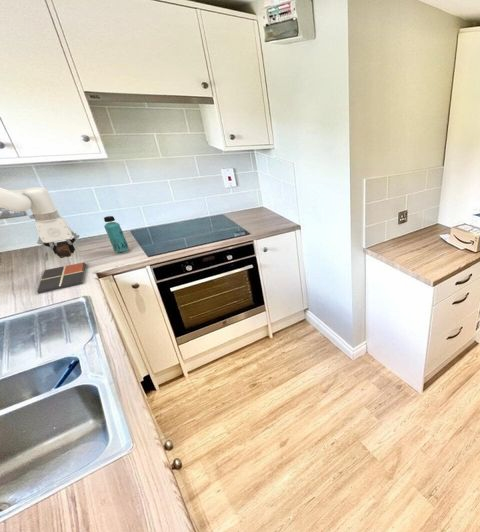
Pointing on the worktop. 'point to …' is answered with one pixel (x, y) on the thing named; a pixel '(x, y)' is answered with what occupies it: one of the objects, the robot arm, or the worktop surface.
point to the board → (62, 277)
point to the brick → (63, 249)
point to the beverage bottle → (115, 235)
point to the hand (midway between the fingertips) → (66, 253)
